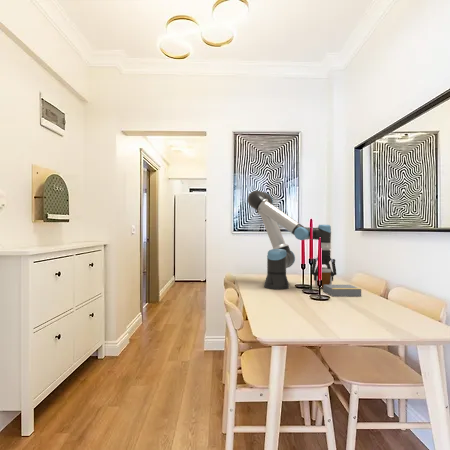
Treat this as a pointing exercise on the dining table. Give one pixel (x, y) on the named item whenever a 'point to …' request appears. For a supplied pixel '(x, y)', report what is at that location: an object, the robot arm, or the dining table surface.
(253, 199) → the robot arm
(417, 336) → the dining table surface
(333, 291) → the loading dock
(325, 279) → the disposable coffee cup
